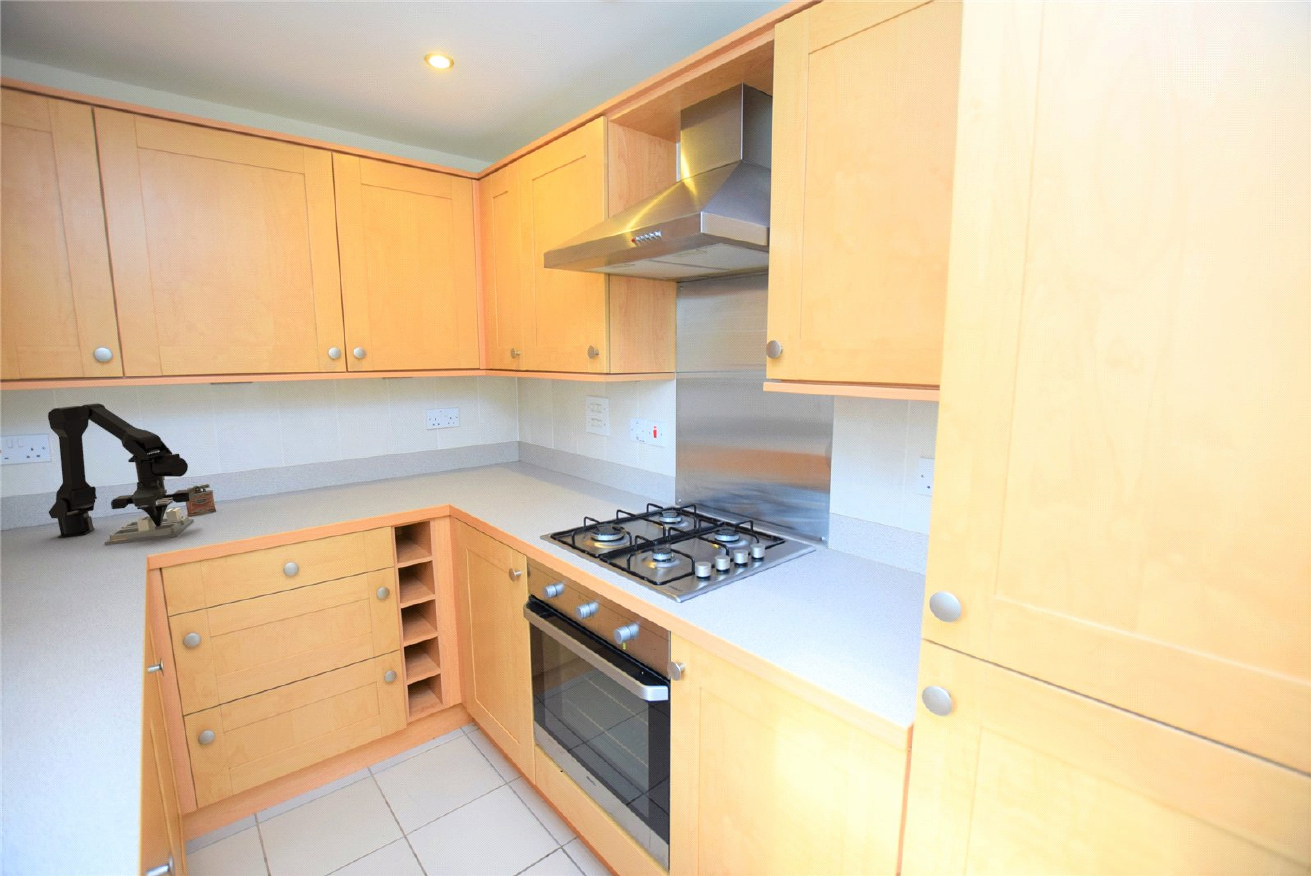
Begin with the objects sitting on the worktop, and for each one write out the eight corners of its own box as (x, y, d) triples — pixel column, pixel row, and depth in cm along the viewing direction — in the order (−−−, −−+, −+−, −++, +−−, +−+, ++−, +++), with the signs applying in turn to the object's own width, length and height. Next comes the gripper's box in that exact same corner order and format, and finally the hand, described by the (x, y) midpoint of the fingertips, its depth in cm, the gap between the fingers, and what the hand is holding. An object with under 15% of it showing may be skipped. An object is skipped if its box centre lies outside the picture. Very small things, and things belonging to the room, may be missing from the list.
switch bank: (104, 545, 171) (103, 537, 171) (128, 529, 186) (127, 521, 185) (176, 536, 178) (175, 528, 177) (194, 521, 192) (192, 514, 192)
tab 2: (168, 525, 185) (165, 511, 184) (172, 522, 188) (170, 507, 188) (177, 524, 186) (175, 510, 185) (182, 520, 189) (180, 506, 188)
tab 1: (139, 535, 176) (136, 520, 175) (145, 531, 179) (142, 516, 179) (149, 534, 177) (147, 519, 176) (155, 530, 180) (152, 515, 179)
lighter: (189, 517, 197) (184, 488, 195) (186, 515, 199) (181, 487, 197) (217, 511, 203) (213, 483, 202) (214, 510, 205) (209, 482, 204)
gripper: (97, 485, 165) (107, 538, 168) (178, 478, 172) (187, 529, 175) (115, 477, 175) (124, 527, 178) (191, 470, 183) (199, 519, 185)
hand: (158, 526), depth 179 cm, fingers closed
